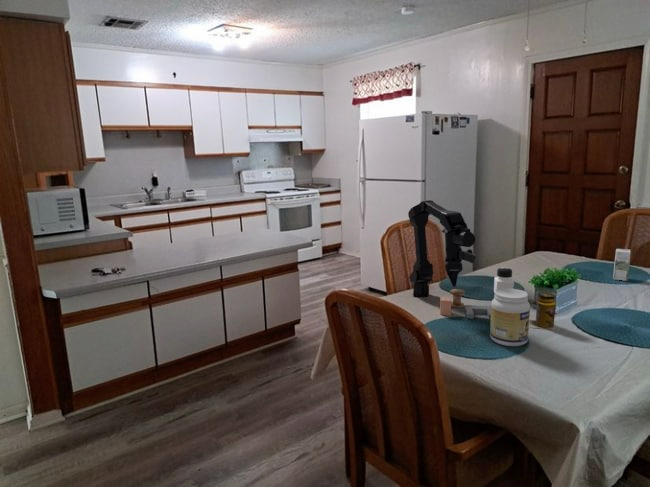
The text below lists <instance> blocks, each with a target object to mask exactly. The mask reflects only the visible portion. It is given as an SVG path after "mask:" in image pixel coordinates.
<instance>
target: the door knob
mask: <svg viewBox="0 0 650 487" xmlns="http://www.w3.org/2000/svg"><path fill="white" fill-rule="evenodd" d="M465 293H466V291H465V290H463V289H460V288H452V289H449V294H450V295H452V301H451V309H463V308H464V309H465V303H464V302H462V296H464V295H465Z"/></svg>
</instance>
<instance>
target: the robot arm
mask: <svg viewBox="0 0 650 487" xmlns="http://www.w3.org/2000/svg"><path fill="white" fill-rule="evenodd" d="M407 215H408V218H409V223H410V224H411V226H412V227H413V234H414V244H415V245H414V247H415V262H414V265H413V266H412V272H411V274H410V275H409V277H408V278H409V282H410V283H412V284H413V286H412V287H413V288H412V290H413V291H412V297H418V298H420V297H422V298H425V297H426V298H427V297H429V294H430V283H431V282H432V280H433V277H434V265H433V263H431V262H430V261H429V259H428V247H427V235H426V234H427V232H426V227H427V224H428V222H429V220H430V219H429V216H430V215H431V216H433V217H435V218H436V219H437V220H439V223H440V225H441V226H442V227H443V229H442V230H441V233H443V234H444V241H445V242H444V243H445V244H444V245H445V246H444V247H445V251H444V252H445V263H444V266H445V269H444V270H445V272H446V275H447V276H448V279H449V281H450V283H451V285H452V288H453V287H456V286H457V283H458V276H459V274H460V273H461V272H462V271H463V262H462V261H465V262H467V263H468V262H469V263H470V264H474V263H475V260H476V258H477V254H475V253H473V250H472V249H470V248H471V247H473V245H474V244H475V243H476V236H475V235H474V233H473V232H472V231H471V228H468V225H467V223H466V221H465V218H464V217H463V215H462V213H461V212H459V211H456V210H448V209H446V208H444V207H442V206H441V205H439V204H437V203H436V202H435V201H434V200H432V199H431V200H429V199H427V200H421V202H420V203H418V204H416V205H414V206H412V207H411V208H410V209H409V211H408V213H407ZM462 247H465V248H468V249H467V250H462V249H463V248H462ZM429 282H430V283H429Z"/></svg>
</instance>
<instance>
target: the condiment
mask: <svg viewBox="0 0 650 487" xmlns="http://www.w3.org/2000/svg"><path fill="white" fill-rule="evenodd" d="M555 298H556V296H555V294H553V293H552V292H540V293H539V294H538V299H537V301H536V311H535V312H536V313H535V320H533V319H529V327H530V329H531V328H532V329H542V330H554V331H556V330H557V327H556V325H555V315H556V301H555Z"/></svg>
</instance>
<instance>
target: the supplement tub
mask: <svg viewBox="0 0 650 487" xmlns="http://www.w3.org/2000/svg"><path fill="white" fill-rule="evenodd" d="M528 295H529V294H528V293H527V292H526V291H525V290H521V289H518V288H514V289H510V288H504V289H498V290H496V291H495V293H494V295H493V298H492V300H491V305H490V306H491V320H490V329H489V330H490V331H489V336H490V339H491V340H492V341H493V342H495V343H497V344H498V345H501V346H507V347H520V346H523V345H525V344H527V343H528V340H529V330H530V328H529V327H530V324H529V320H530V312H531V303H530V302H529V301H528V300H529V296H528Z"/></svg>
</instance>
